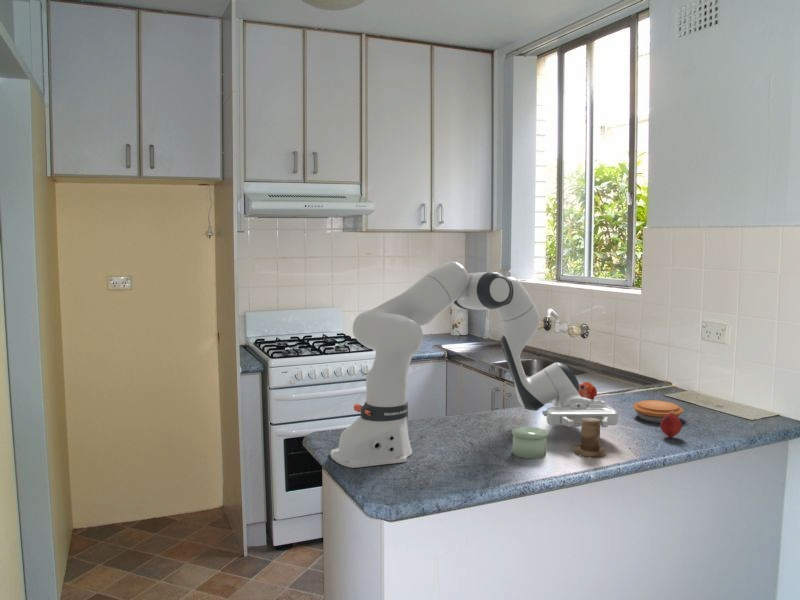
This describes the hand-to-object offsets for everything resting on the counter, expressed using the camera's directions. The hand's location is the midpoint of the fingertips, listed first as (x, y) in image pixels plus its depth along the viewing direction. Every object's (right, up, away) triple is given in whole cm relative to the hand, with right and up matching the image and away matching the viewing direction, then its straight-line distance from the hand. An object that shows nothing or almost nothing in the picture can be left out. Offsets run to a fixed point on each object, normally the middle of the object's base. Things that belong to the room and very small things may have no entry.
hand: (588, 424), depth 189 cm
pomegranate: (+14, -2, +54) cm, 56 cm away
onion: (+28, -6, +12) cm, 31 cm away
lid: (0, -8, -2) cm, 8 cm away
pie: (+32, -4, +33) cm, 46 cm away
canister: (-17, -7, -3) cm, 19 cm away
